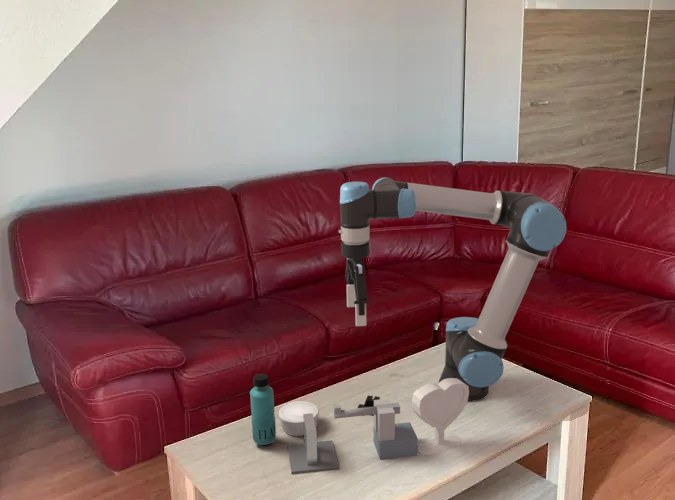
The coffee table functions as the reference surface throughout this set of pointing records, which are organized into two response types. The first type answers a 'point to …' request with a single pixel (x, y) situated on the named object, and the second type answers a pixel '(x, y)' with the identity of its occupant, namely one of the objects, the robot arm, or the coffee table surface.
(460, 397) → the heart sculpture
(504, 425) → the coffee table surface
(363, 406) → the black phone stand
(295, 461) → the mat
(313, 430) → the ring
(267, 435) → the beverage bottle
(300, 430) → the ramekin
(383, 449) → the vise
